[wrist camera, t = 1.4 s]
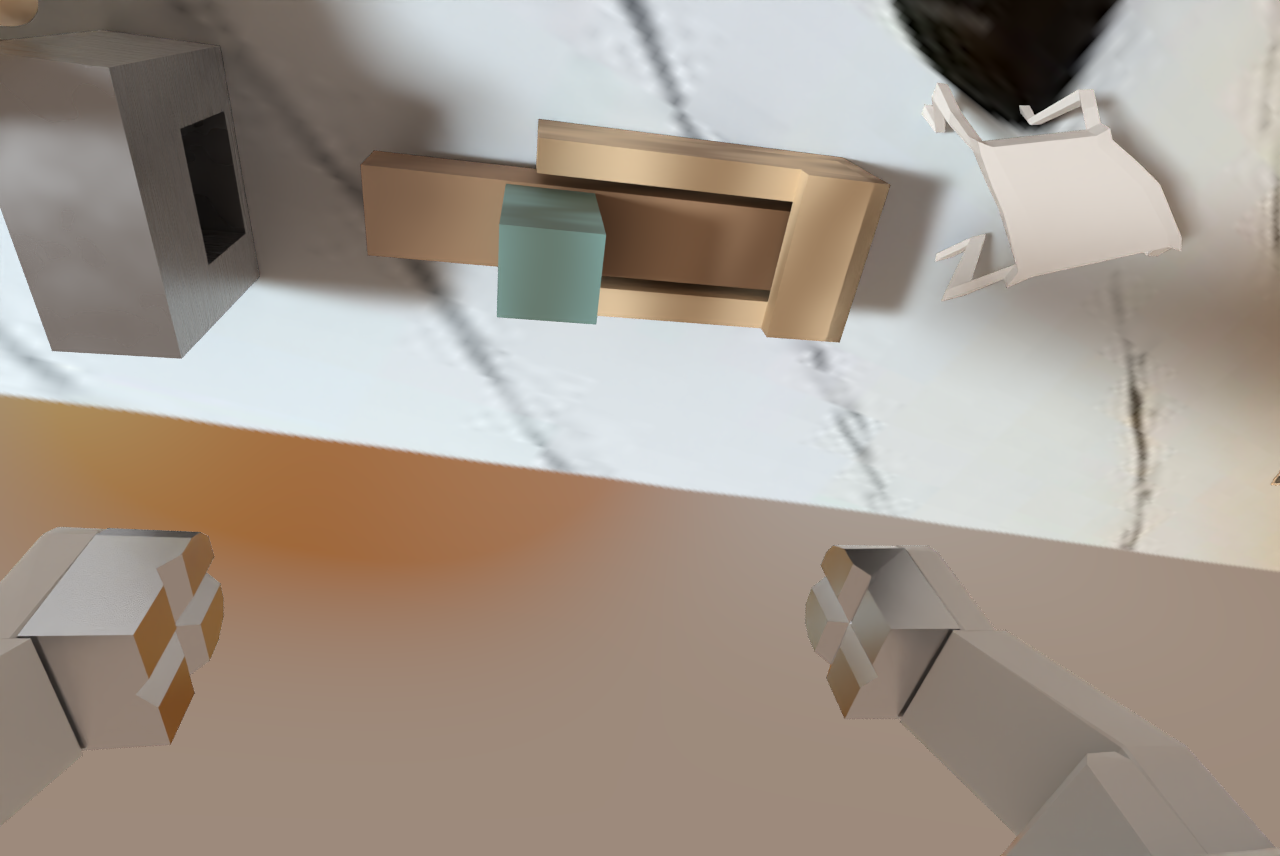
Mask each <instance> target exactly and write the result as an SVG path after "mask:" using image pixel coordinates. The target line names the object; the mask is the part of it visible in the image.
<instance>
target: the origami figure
mask: <svg viewBox="0 0 1280 856" xmlns="http://www.w3.org/2000/svg"><path fill="white" fill-rule="evenodd" d="M932 104H933V105H924V108H923V111H922V114H921V115H922V116H923V117H924V118H925V120H926V121H927V122H928V123H929V125H930V126H931V127H932V128H933V130H934V131H935V132H936V133H939V132H945V128H946V121H947V122H948V124H949V125H950V126H951V127H952V128H953V130H954V131H955V132H956V133H957V134H958V135H959V136H960V137H961V138H962V139H963V140H964V142H965V143H966V144H967V145H968V146H969V147H970V148H971V149H972V150H973V152H974V155H975V157H976V160H977V162H978V164H979V167H980V169H981V172H982V174H983V176H984V179H985V181H986V183H987V185H988V187H989V190H990V192H991V194H992V196H993V198H994V200H995V202H996V204H997V206H998V208H999V212H1000V215H1001V218H1002V221H1003V224H1004V228H1005V231H1006V234H1007V237H1008V241H1009V244H1010V247H1011V250H1012V253H1013V257H1014V260H1015V263H1016V264H1014V265H1012V266H1009V267H1006V268H1004V269H1001V270H998V271H996V272H993V273H990V274H988V275H985V276H982V277H980V278H977V279H974V280H972V277H973V274H974V271H975V268H976V266H977V263H978V260H979V257H980V254H981V251H982V248H983V245H984V242H985V237H986V234H982V235H978V236H974V237H971V238H969V239H966V240H964V241H962V242H960V243H958V244H956V245H954V246H952V247H950V248H947V249H945V250H943V251H941V252H939V253H937V255H936V258H935V261H939V260H943V259H948V258H952V257H954V256H955V255H957V254H959V253H961V252H963V251H964V254H963V256H962V258H961V260H960V262H959V264H958V266H957V268H956V270H955V272H954V274H953V276H952V279H951V281H950V283H949V285H948V287H947V289H946V291H945V294H944V296H943V298H942V301H945V300H949V299H953V298H957V297H961V296H965V295H967V294H970V293H972V292H974V291H976V290H979V289H981V288H983V287H986V286H988V285H990V284H993V283H995V282H998V281H1000V280H1003V279H1004V281H1005V285H1006V288H1008V287H1010V286H1012V285H1015V284H1017V283H1020V282H1022V281H1024V280H1027V279H1029V278H1031V277H1034V276H1039V275H1043V274H1048V273H1052V272H1057V271H1061V270H1066V269H1071V268H1075V267H1080V266H1084V265H1089V264H1093V263H1098V262H1102V261H1107V260H1111V259H1116V258H1121V257H1125V256H1130V255H1134V254H1139V253H1144V254H1146V255H1147V256H1159V255H1160V254H1162V253H1164V252H1165V251H1167V250H1169V249H1170V248H1173V249H1176V250H1179V251H1181V244H1182V237H1181V234H1180V231H1179V229H1178V227H1177V225H1176V222H1175V220H1174V217H1173V215H1172V212H1171V210H1170V207H1169V205H1168V203H1167V200H1166V198H1165V195H1164V193H1163V190H1162V188H1161V185H1160V184H1159V182H1158V181H1157V180H1156V179H1155V178H1154V177H1153V176H1152V175H1151V174H1150V173H1149V172H1148V171H1147V170H1146V169H1145V168H1144V167H1142V166H1141V165H1140V164H1139V163H1138V162H1137V161H1136V160H1135V159H1134V158H1133V157H1132V156H1130V155H1129V154H1128V153H1127V152H1126V151H1125V150H1124V149H1122V148H1121V147H1120V146H1119V145H1118V144H1117V143H1116V142H1115V141H1113V140H1112V135H1111V130H1110V128H1109V127H1107V126H1105V125H1103V124H1101V121H1100V117H1099V112H1098V107H1097V103H1096V98H1095V93H1094V89H1084V90H1077V91H1075V92H1074V93H1072V94H1070V95H1069V96H1067V97H1065V98H1063V99H1062V100H1060V101H1058V102H1057V103H1055V104H1053V105H1052V106H1050V107H1048V108H1046V109H1045V110H1043V111H1041V112H1040V113H1038V114H1036V115H1034V113H1033V111H1032V109H1031V108H1030V106H1019V107H1020V113H1021V114H1022V115H1023V117H1024V118H1025V119H1026V120H1027V121H1028V123H1029V124H1030V125H1039V124H1042V123H1044V122H1046V121H1049V120H1051V119H1053V118H1055V117H1058V116H1060V115H1062V114H1064V113H1066V112H1069V111H1071V110H1073V109H1075V108H1077V107H1080V106H1081V107H1082V111H1083V115H1084V121H1085V126H1086V130H1079V131H1070V132H1061V133H1052V134H1043V135H1034V136H1025V137H1016V138H1006V139H997V140H988V141H982V140H981V138H980V137H979V136H978V134H977V133H976V132H975V130H974V129H973V128H972V126H971V125H970V124H969V122H968V121H967V119H966V118H965V117H964V115H963V114H962V112H961V110H960V108H959V106H958V104H957V102H956V100H955V98H954V96H953V94H952V92H951V90H950V88H949V86H948V84H943V83H937V84H936V87H935V90H934V92H933V95H932ZM971 280H972V281H971Z"/></svg>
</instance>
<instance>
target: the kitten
mask: <svg viewBox="0 0 1280 856" xmlns="http://www.w3.org/2000/svg"><path fill="white" fill-rule="evenodd" d="M37 10H38V0H0V26H20V25H24V24H26V23H28V22H30V21H31V20H32V19H33V18H34V17H35V15H36V13H37Z"/></svg>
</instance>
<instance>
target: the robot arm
mask: <svg viewBox="0 0 1280 856" xmlns="http://www.w3.org/2000/svg"><path fill="white" fill-rule="evenodd" d="M213 559H214V553H213V550H212V546H211V543H210V539H209V536H207V535H205V534H203V533H201V532H186V531H162V530H137V529H113V528H108V529H91V528H70V527H57V528H55V529H53V530H50V531H48V532H46V533H44V534H43V535H42V536H41V537H40V538H39V539H38V540H37V541H36V542H35V544H34V545H33V546H32V547H31V548H30V549H29V550H28V552H27V553H26V554H25V555H24V556H23V557H22V558H21V560H20V561H19V562H18V563H17V564H16V565H15V566H14V567H13V569H12V570H11V571H10V572H9V573H8V574H7V575H6V576H5V578H4V579H3V580H2V581H1V582H0V826H1V825H3V824H4V823H5V822H6V821H7V820H8V819H10V818H11V817H12V816H13V815H14V814H15V813H16V812H18V811H19V810H20V809H21V808H22V807H23V806H25V805H26V804H27V803H28V802H29V801H30V800H32V799H33V798H34V797H35V796H36V795H37V794H38V793H40V792H41V791H42V790H43V789H44V788H45V787H47V786H48V785H49V784H50V783H51V782H52V781H54V780H55V779H56V778H57V777H58V776H59V775H61V774H62V773H63V772H64V771H65V770H66V769H67V768H69V767H70V766H71V765H72V764H73V763H75V762H76V761H77V760H78V759H79V758H80V757H81V756H83V752H82V750H98V749H114V748H128V747H129V748H130V747H146V746H161V745H171V743H172V741H173V739H174V737H175V735H176V732H177V730H178V728H179V726H180V724H181V721H182V720H183V717H184V715H185V713H186V711H187V709H188V707H189V704H190V702H191V700H192V698H193V696H194V694H195V692H194V688H193V685H192V682H191V677H190V675H191V674H193V673H194V672H195V671H196V670H198V669H199V668H201V667H202V666H203V665H205V664H206V663H207V662H209V661H210V659H211V657H212V654H213V652H214V650H215V647H216V645H217V643H218V640H219V636H220V631H221V627H222V622H223V617H224V598H223V593H222V588H221V584H220V583H219V582H218V581H216V580H215V579H214V578H213V577H211V576H210V575H209V574H208V573H207V570H208V568H209V566H210V564H211V562H212V560H213ZM821 567H822V569H823V571H824V574H825V576H826V577H824V578H823V579H822V580H821V581H819V582H818V583H817V584H815V585H814V586H813V587H812V588H811V590H810V594H809V596H808V599H807V602H806V608H805V609H806V610H805V624H806V629H807V633H808V638H809V640H810V642H811V645H812V647H813V649H814V652H816V653H817V654H818V655H819V656H820V657H822V658H823V659H824V660H825V661H827V662H828V663H829V664H830V667H829V670H828V674H827V677H826V679H827V681H828V683H829V686H830V688H831V690H832V692H833V694H834V696H835V699H836V701H837V703H838V705H839V708H840V710H841V712H842V714H843V716H844V719H901V720H900V722H901V723H902V724H903V725H904V726H905V727H906V728H907V729H908V730H909V731H910V732H911V733H912V734H913V735H914V736H915V737H916V738H917V739H918V740H919V741H920V742H921V743H922V744H923V745H924V746H925V747H926V748H927V749H928V750H929V751H930V752H931V753H932V754H933V755H934V756H936V757H937V758H938V759H939V760H940V761H941V762H942V763H943V764H944V765H945V766H946V767H947V768H948V769H949V770H950V771H951V772H952V773H953V774H954V775H955V776H956V777H957V778H958V779H959V780H960V781H961V782H962V783H963V784H964V785H965V786H966V787H967V788H968V789H969V790H970V791H971V792H972V793H973V794H975V796H976V797H978V798H979V799H980V800H981V801H982V802H983V803H984V804H985V805H986V806H987V807H988V808H989V809H990V810H991V811H992V812H993V813H994V814H995V815H996V816H997V817H998V818H999V819H1000V820H1001V821H1002V822H1003V823H1004V824H1005V825H1006V826H1007V827H1008V828H1009V829H1010V830H1011V831H1012V832H1013V833H1014V834H1015V835H1016V836H1017V837H1016V838H1015V839H1014V840H1013V841H1012V843H1011V844H1010V845H1009V846H1008V847H1007V848H1006V850H1005V851H1004V852H1003V853H1002V854H1001V855H1000V856H1280V847H1277V848H1276V847H1275V846H1274V845H1273V844H1272V843H1271V842H1270V840H1269V839H1268V838H1267V837H1266V836H1265V835H1264V834H1263V833H1262V831H1261V830H1260V829H1259V828H1258V827H1257V826H1256V824H1255V823H1254V822H1253V821H1252V820H1251V819H1250V818H1249V816H1248V815H1247V814H1246V813H1245V812H1244V811H1243V810H1242V808H1241V807H1240V806H1239V805H1238V804H1237V803H1236V802H1235V801H1234V799H1233V798H1232V797H1231V796H1230V795H1229V794H1228V793H1227V791H1226V790H1225V789H1224V788H1223V787H1222V786H1221V785H1220V783H1219V782H1218V781H1217V780H1216V779H1215V778H1214V777H1213V775H1212V774H1211V773H1210V772H1209V771H1208V770H1207V769H1206V768H1205V767H1204V765H1203V764H1202V763H1201V762H1200V761H1199V759H1198V758H1197V757H1196V756H1195V755H1194V754H1193V753H1192V751H1190V749H1189V748H1188V747H1187V746H1186V745H1185V744H1183V743H1181V742H1180V741H1178V740H1177V739H1175V738H1174V737H1172V736H1170V735H1169V734H1167V733H1166V732H1164V731H1163V730H1161V729H1159V728H1158V727H1156V726H1155V725H1153V724H1152V723H1150V722H1149V721H1147V720H1146V719H1144V718H1142V717H1141V716H1139V715H1138V714H1136V713H1135V712H1133V711H1131V710H1130V709H1128V708H1126V707H1125V706H1124V705H1122V704H1121V703H1119V702H1117V701H1116V700H1114V699H1113V698H1111V697H1109V696H1108V695H1106V694H1105V693H1103V692H1102V691H1100V690H1099V689H1097V688H1095V687H1094V686H1092V685H1091V684H1089V683H1088V682H1086V681H1085V680H1083V679H1082V678H1080V677H1078V676H1077V675H1075V674H1074V673H1072V672H1071V671H1069V670H1067V669H1066V668H1064V667H1063V666H1061V665H1059V664H1058V663H1057V662H1055V661H1054V660H1052V659H1050V658H1049V657H1047V656H1046V655H1044V654H1043V653H1041V652H1039V651H1038V650H1036V649H1035V648H1033V647H1032V646H1030V645H1029V644H1027V643H1025V642H1023V641H1022V640H1021V639H1019V638H1018V637H1016V636H1014V635H1013V634H1011V633H1010V632H1008V631H1007V630H996V629H995V627H994V626H993V625H992V623H991V622H990V621H989V619H988V618H987V617H986V615H985V614H984V613H983V611H982V610H981V609H980V607H979V606H978V605H977V603H976V602H975V601H974V599H973V598H972V597H971V595H970V594H969V593H968V591H967V590H966V589H965V587H964V586H963V585H962V583H961V582H960V581H959V579H958V578H957V577H956V575H955V574H954V573H953V571H952V570H951V569H950V567H949V566H948V565H947V563H946V562H945V561H944V559H943V558H942V557H941V555H940V554H939V552H937V551H936V550H935V549H933V548H931V547H930V546H853V545H852V546H851V545H833V546H832V547H831V548H830V549H829V550H828V551H827V552H826V554H825V556H824V559H823V561H822V563H821Z"/></svg>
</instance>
